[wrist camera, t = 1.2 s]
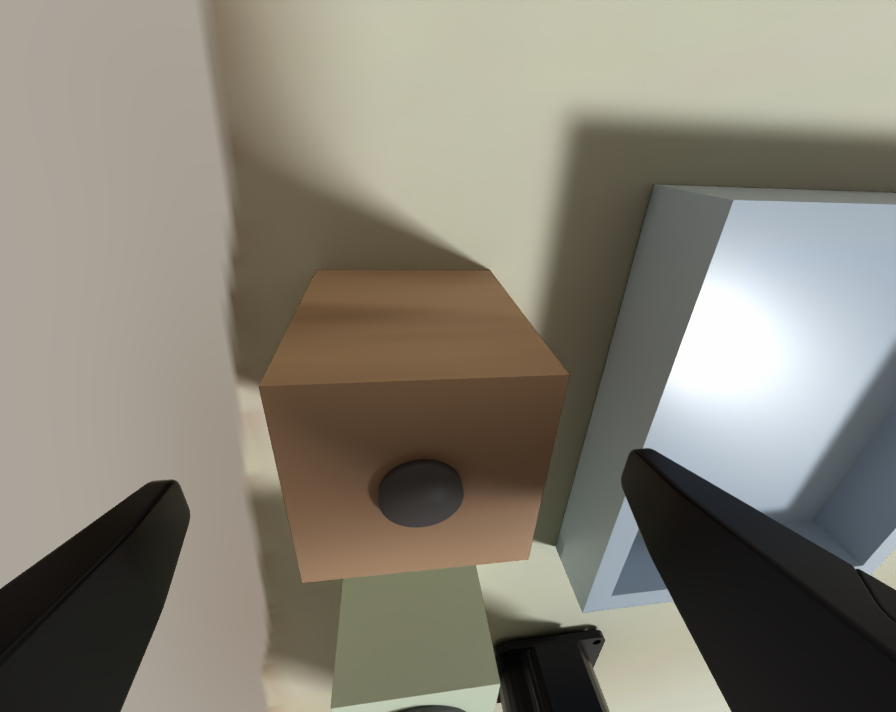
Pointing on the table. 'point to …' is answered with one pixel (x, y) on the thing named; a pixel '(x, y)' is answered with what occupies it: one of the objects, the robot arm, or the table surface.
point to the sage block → (414, 644)
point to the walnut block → (410, 422)
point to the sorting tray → (747, 376)
